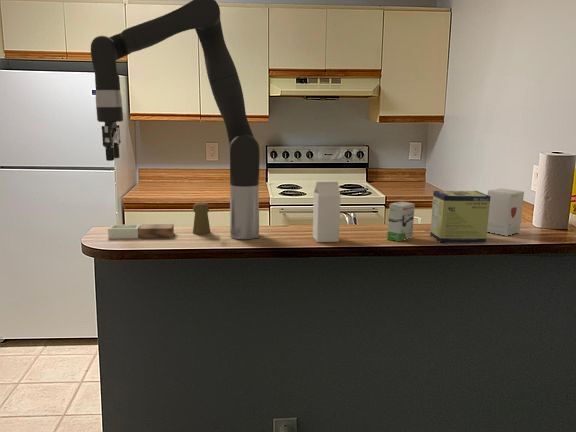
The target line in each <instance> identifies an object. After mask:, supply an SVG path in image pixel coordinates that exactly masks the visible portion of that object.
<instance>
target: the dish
mask: <svg viewBox="0 0 576 432" xmlns="http://www.w3.org/2000/svg"><path fill="white" fill-rule="evenodd" d="M141 225H142V224H111V225H110V226H109V227H108V228H107V235H108V236H107V237H108V238H107V239H139V238H140V234H139V228H140V227H141Z"/></svg>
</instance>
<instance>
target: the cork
mask: <svg viewBox="0 0 576 432" xmlns="http://www.w3.org/2000/svg"><path fill="white" fill-rule="evenodd" d="M192 210H193V213H194V218H193V219H194V220H193V227H192V234H193V235H197V236H205V235H210V234H211V227H210V220H209V211H210V206H209V204H208V203H207V202H202V201H201V202H196V203H194V204H193V207H192Z"/></svg>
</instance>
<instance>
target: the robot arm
mask: <svg viewBox="0 0 576 432" xmlns="http://www.w3.org/2000/svg"><path fill="white" fill-rule="evenodd" d="M221 21H222V20H221V9H220V5H219V4H218V2H217V0H191V1H189V2H187V3H185V4H184V5H182V6H180V7H178V8H176V9H174V10H172V11H170V12H168V13H165V14H163V15H160V16H157V17H155V18H151V19H148V20H146V21H143V22H140V23H136V24H134V25H132V26H128V27H126V28H124V29H123V30H122V31H121V32H119V33H116V34H114V35H111V36H107V35H98V36H95V37H94V38H93V39H92V41H91V43H90V56H91V62H92V67H93V71H94V82H95V83H94V85H95V108H96V121H97V122H100V123H104V125H102V126H101V135H102V136H101V138H102V147H104V149H105V158H106V159H105V160H106V161H107V162H110V161H111V162H112V161H114V160H115V159H119V158H120V146H121V145H120V144H121V143H122V141H121V133H120V124H117V123H119V122H124V113H123V111H124V110H123V99H122V94H121V80H120V74H119V72H118V70H117V60H119V59H123V58H124V57H126V56H128V55H130V54H133V53H135V52H138V51H142V50H144V49H147V48H151V47H153V46H155V45H157V44H160V43H162V42H163V41H165V40H167V39H169V38H171V37H173V36H175V35H177V34H180V33H183V32H187V31H189V30H195V32H196V35H197V38H198V40H199V42H200V46H201V49H202V53H203V58H204V65H205V69H206V74H207V77H208V83H209V86H210V89H211V93H212V95H213V99H214V101H215V103H216V107H217V108H218V110H219V113H220V115H221V117H222V119H223V122H224V126H225V129H226V134H227V139H228V144H229V199H230V203H229V212H230V213H229V215H230V216H229V217H230V219H229V222H230V223H229V224H230V227H229V228H230V231H229V233H230V238H232V239H237V240H251V239H259V238H260V209H259V207H260V206H259V204H260V203H259V202H260V201H259V199H260V198H259V197H260V195H259V194H260V193H259V188H260V187H259V186H260V185H259V184H260V183H259V182H260V154H261V153H260V145H259V142H258V141H257V139H255V136H254V134H253V132H252V131H253V130H252V129H251V127H250V124H249V121H248V117H247V113H246V106H245V105H246V104H245V98H244V93H243V89H242V84H241V80H240V77H239V74H238V73H239V72H238V70H237V68H236V66H235V63H234V60H233V57H232V56H231V54H230V51H229V49H228V47H227V45H226V41H225V38H224V32H223V28H222V27H223V26H222V22H221Z"/></svg>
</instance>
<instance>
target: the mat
mask: <svg viewBox="0 0 576 432" xmlns="http://www.w3.org/2000/svg"><path fill="white" fill-rule="evenodd" d="M170 239H171V238H140V240H170Z"/></svg>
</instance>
